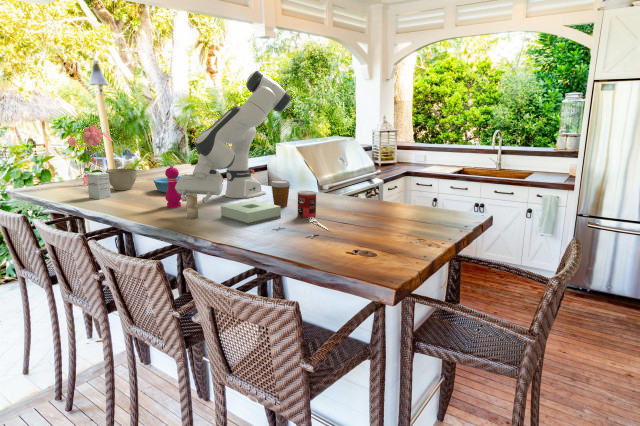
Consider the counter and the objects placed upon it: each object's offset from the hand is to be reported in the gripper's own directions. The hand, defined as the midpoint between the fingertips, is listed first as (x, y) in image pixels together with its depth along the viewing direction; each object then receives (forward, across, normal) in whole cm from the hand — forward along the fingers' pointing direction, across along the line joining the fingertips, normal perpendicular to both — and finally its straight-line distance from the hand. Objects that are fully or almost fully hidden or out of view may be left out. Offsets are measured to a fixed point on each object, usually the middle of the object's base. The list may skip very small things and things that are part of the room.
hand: (193, 201), depth 181 cm
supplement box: (-13, -65, +23) cm, 71 cm away
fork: (+6, +55, +5) cm, 56 cm away
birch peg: (+6, 0, +4) cm, 7 cm away
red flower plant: (-37, -92, +46) cm, 110 cm away
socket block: (0, +23, +10) cm, 25 cm away
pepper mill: (-7, -19, +17) cm, 27 cm away
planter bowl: (-31, -70, +40) cm, 86 cm away
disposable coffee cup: (-18, +29, +28) cm, 44 cm away
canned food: (-4, +46, +15) cm, 48 cm away
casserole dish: (-37, -36, +47) cm, 70 cm away
